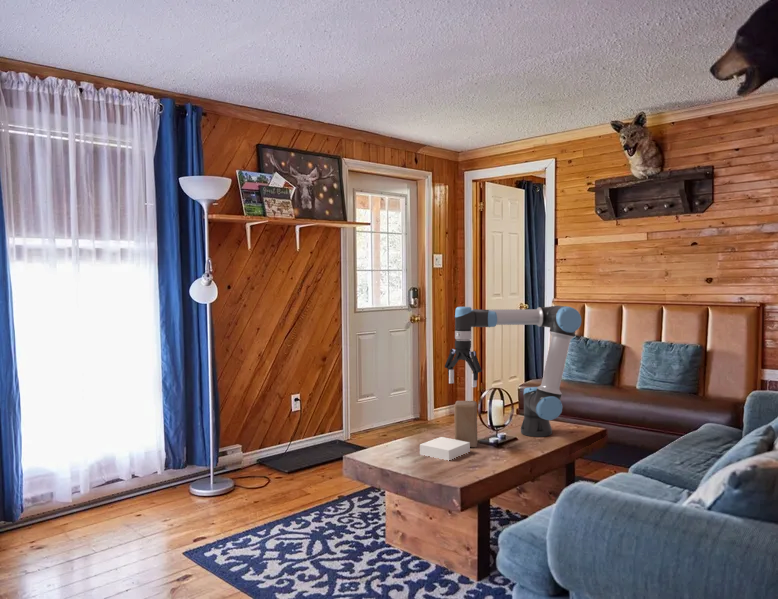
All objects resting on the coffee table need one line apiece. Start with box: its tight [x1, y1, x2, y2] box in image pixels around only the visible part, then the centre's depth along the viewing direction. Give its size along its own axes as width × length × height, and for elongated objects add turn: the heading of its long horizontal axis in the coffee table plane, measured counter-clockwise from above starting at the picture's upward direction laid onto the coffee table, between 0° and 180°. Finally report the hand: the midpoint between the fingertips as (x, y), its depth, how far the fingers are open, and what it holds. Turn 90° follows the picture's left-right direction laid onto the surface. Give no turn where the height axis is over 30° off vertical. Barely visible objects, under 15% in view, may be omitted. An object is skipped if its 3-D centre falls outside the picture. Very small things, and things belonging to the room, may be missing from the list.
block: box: [453, 400, 478, 448], centre depth 286 cm, size 10×10×20 cm
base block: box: [419, 436, 471, 462], centre depth 274 cm, size 16×16×5 cm
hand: (462, 385), depth 285 cm, fingers open, 13 cm apart
